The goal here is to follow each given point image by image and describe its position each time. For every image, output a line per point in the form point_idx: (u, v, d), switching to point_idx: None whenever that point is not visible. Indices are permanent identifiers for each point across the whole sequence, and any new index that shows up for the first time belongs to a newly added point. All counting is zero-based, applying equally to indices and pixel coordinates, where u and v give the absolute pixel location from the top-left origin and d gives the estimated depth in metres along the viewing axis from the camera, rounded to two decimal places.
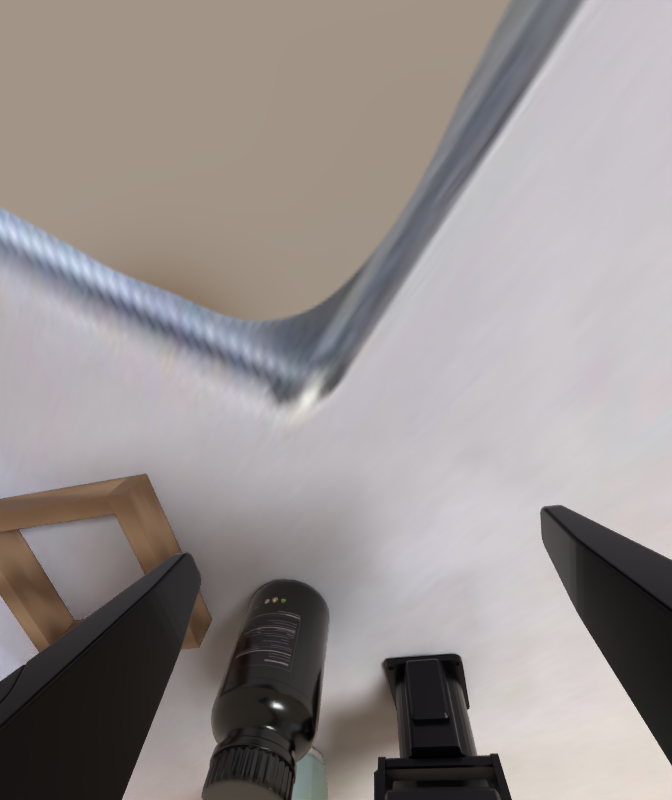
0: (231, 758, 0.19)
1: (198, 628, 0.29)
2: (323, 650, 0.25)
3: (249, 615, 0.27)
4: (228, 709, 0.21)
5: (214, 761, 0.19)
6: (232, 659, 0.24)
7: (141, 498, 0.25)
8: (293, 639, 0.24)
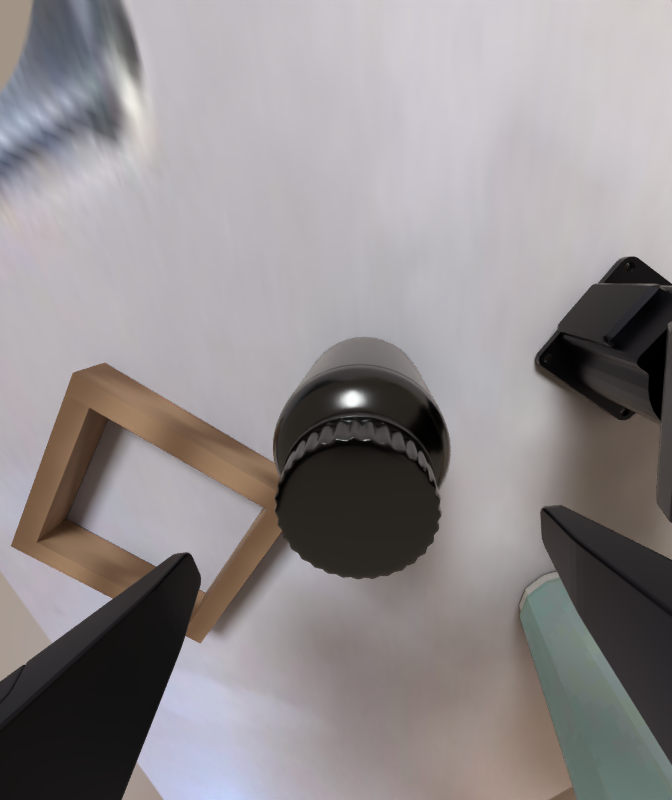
0: None
1: None
2: (400, 357, 0.16)
3: None
4: (279, 449, 0.13)
5: None
6: None
7: (106, 379, 0.21)
8: (336, 355, 0.15)
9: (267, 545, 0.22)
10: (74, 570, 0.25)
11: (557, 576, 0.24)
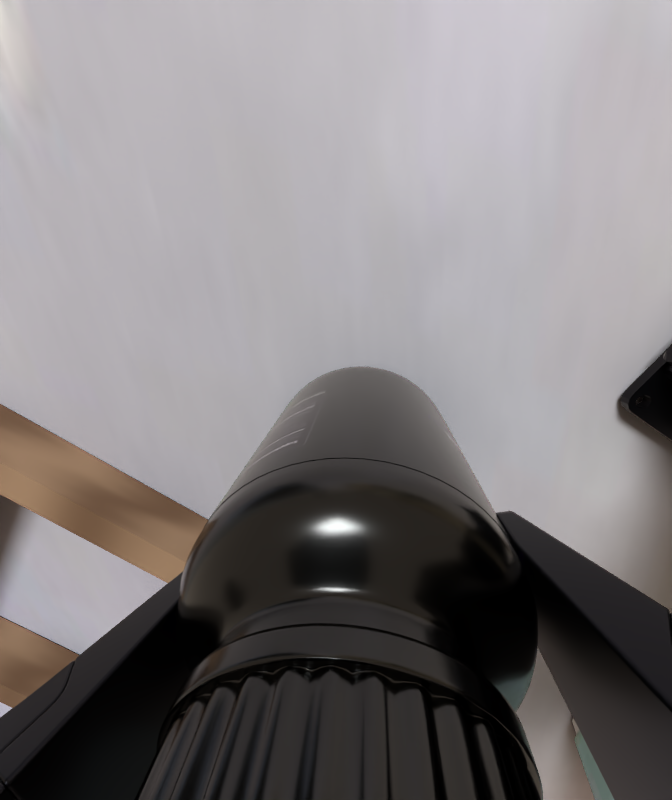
0: None
1: None
2: (422, 411, 0.10)
3: None
4: (182, 634, 0.06)
5: None
6: None
7: None
8: (311, 412, 0.09)
9: None
10: None
11: None
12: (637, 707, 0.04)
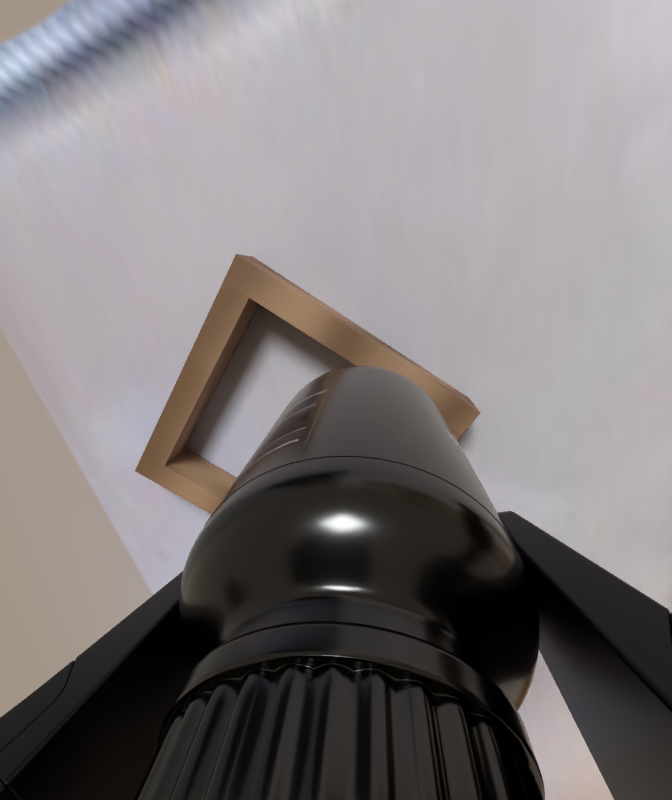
0: None
1: (458, 396, 0.19)
2: (423, 410, 0.10)
3: None
4: (183, 632, 0.06)
5: None
6: None
7: (264, 268, 0.18)
8: (312, 411, 0.09)
9: None
10: (203, 498, 0.22)
11: None
12: (637, 707, 0.04)
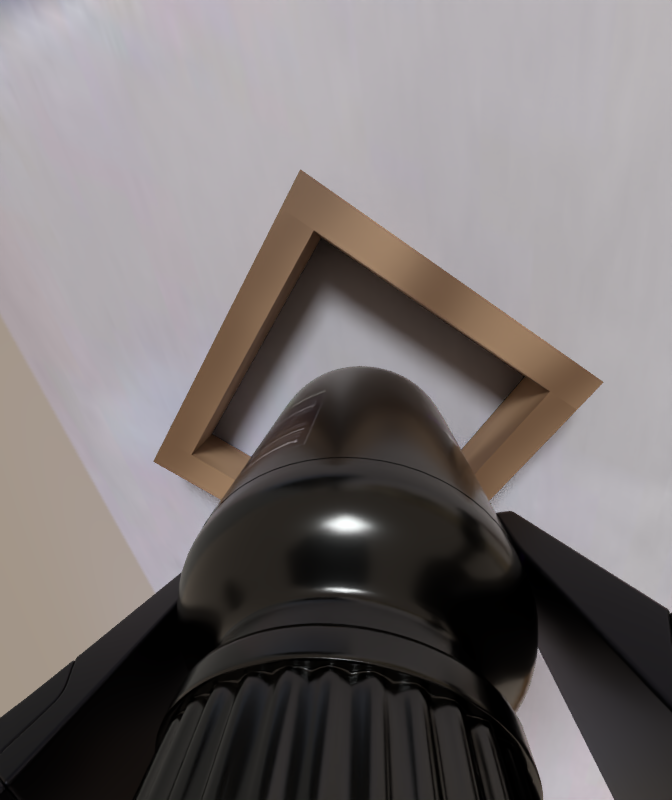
0: None
1: None
2: (422, 411, 0.10)
3: None
4: (181, 633, 0.06)
5: None
6: None
7: None
8: (311, 411, 0.09)
9: (533, 448, 0.16)
10: None
11: None
12: (637, 707, 0.04)
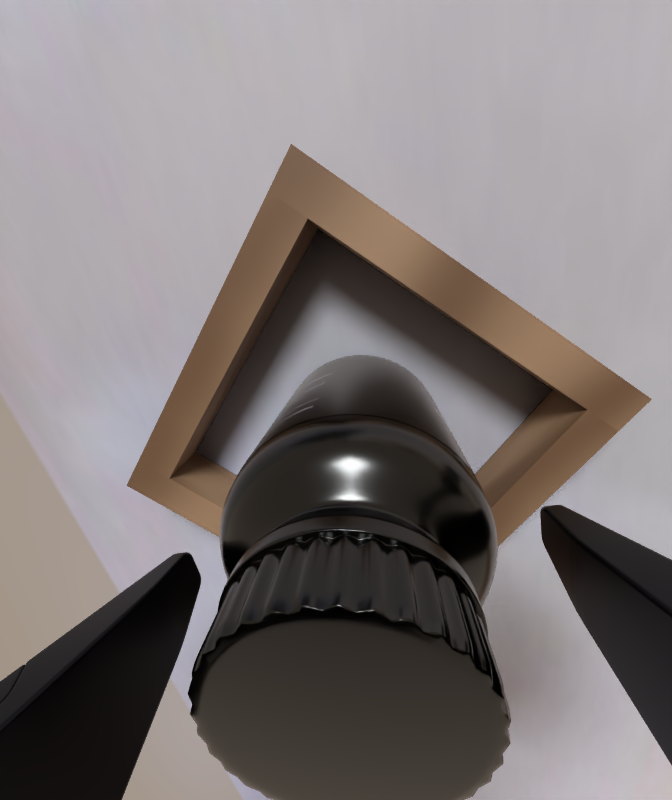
0: None
1: None
2: (414, 390, 0.12)
3: None
4: (225, 548, 0.08)
5: None
6: None
7: None
8: (322, 387, 0.11)
9: (565, 475, 0.14)
10: None
11: None
12: None
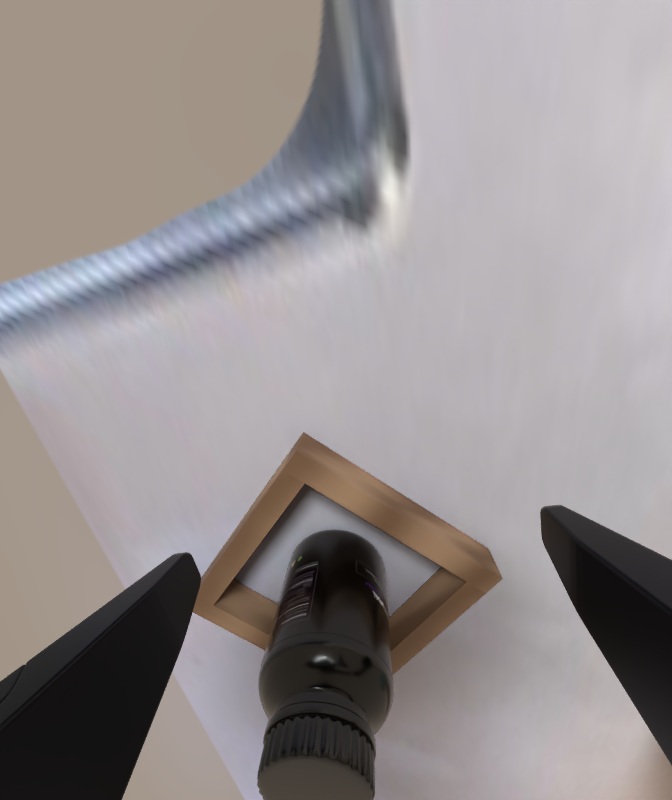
0: (267, 744, 0.15)
1: (483, 559, 0.22)
2: (363, 580, 0.20)
3: None
4: (263, 695, 0.17)
5: None
6: None
7: (317, 453, 0.21)
8: (311, 586, 0.20)
9: (457, 614, 0.23)
10: (247, 631, 0.25)
11: None
12: None
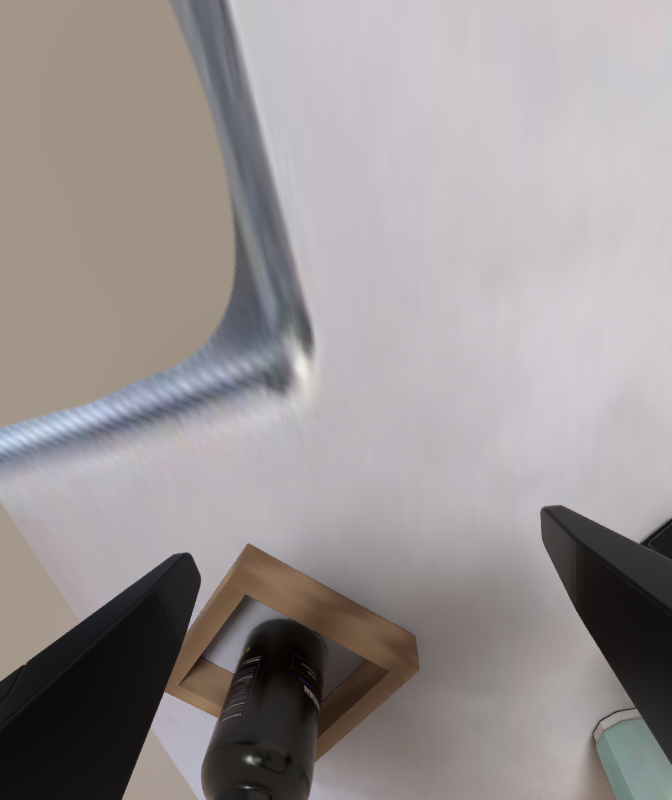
0: None
1: (404, 651, 0.25)
2: (296, 675, 0.24)
3: None
4: (203, 786, 0.20)
5: None
6: None
7: (257, 565, 0.24)
8: (250, 683, 0.23)
9: (385, 696, 0.26)
10: (208, 706, 0.28)
11: (630, 716, 0.27)
12: None
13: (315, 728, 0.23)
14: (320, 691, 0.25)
